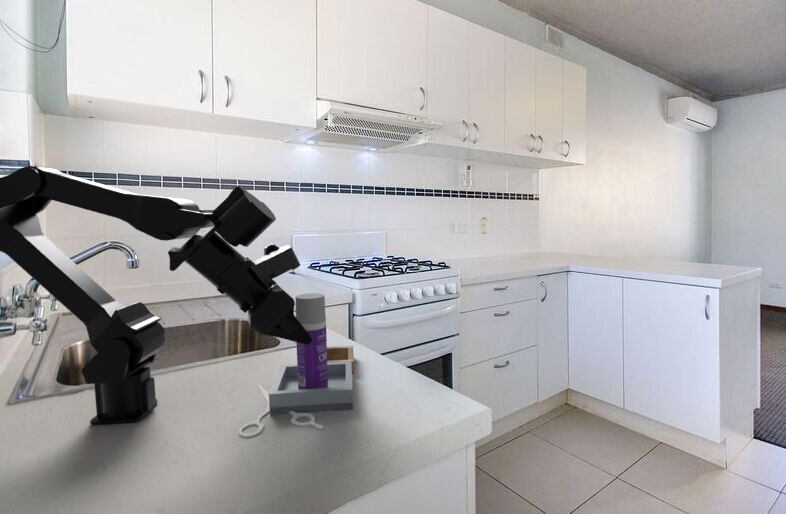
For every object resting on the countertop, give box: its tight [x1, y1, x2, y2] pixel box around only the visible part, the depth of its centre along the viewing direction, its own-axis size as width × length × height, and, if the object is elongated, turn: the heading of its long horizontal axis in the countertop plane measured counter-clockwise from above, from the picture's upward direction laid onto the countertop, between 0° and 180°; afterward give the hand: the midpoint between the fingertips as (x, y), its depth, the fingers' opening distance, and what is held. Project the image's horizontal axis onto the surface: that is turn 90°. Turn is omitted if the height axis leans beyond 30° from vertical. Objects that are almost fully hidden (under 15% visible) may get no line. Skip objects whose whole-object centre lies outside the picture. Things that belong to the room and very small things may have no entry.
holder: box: [327, 345, 355, 376], centre depth 80 cm, size 9×9×2 cm
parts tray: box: [268, 362, 354, 415], centre depth 68 cm, size 12×12×3 cm
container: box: [295, 292, 328, 390], centre depth 67 cm, size 5×5×15 cm
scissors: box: [238, 383, 324, 439], centre depth 65 cm, size 11×1×20 cm
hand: (303, 334), depth 67 cm, fingers open, 9 cm apart
